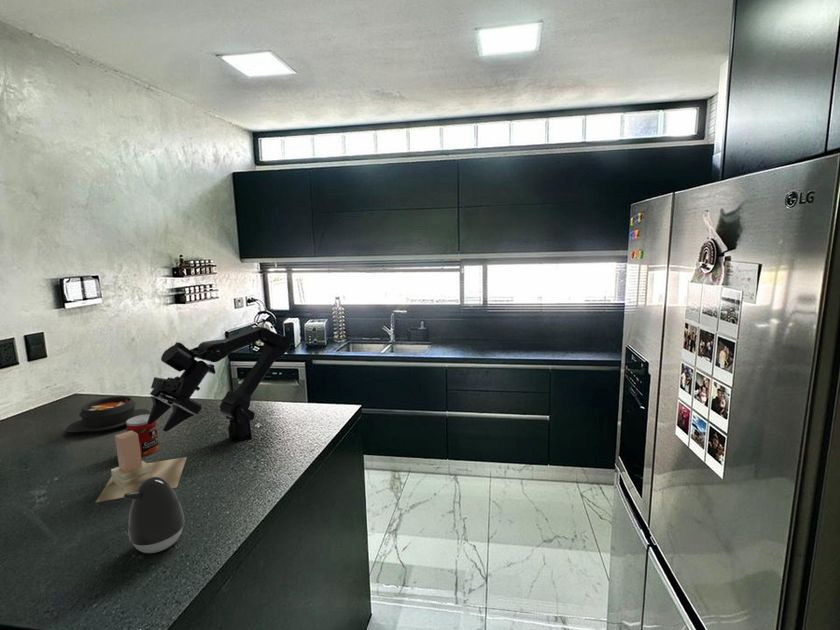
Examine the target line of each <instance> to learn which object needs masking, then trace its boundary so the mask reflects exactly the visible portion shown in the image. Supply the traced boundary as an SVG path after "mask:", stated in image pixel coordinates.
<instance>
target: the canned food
mask: <svg viewBox="0 0 840 630" xmlns="http://www.w3.org/2000/svg"><path fill="white" fill-rule="evenodd" d="M149 416H150V414H146V415H139V416H135V417H132V418H130V419H128V420H127V421H126V425H125V426H126V432H128V431H131V430H132V431H134V432H136V433H137V434H138V438H139V445H140V453H141V457H143V456H148V455H151V454H153V453H155V452H157V451H158V450H159V449H160V441H159V435H158V433H159V432H158V426H157V420H156V421H155V422H153V423H152V424H151V425H150V424H148V423H147V422H148V419H149Z"/></svg>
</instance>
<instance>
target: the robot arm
mask: <svg viewBox="0 0 840 630" xmlns="http://www.w3.org/2000/svg"><path fill="white" fill-rule="evenodd" d="M290 340H291V339H290V338H289V337H288V336H286V335H281V334H279V333H277V332H274V331H272V330H271V329H269V328H267V327H265V326H255V327H253V328H250V329H249V330H246V331H243V332H241V333H237V334H234V335H232V336H229V337H227V338H222V339H211V340H207V341H202V342H200V343H199V344H198V346H196V347H193V348H191V349H189V348H188V347H186V346H185V345H184V344H183V343H181V342H178V341H176V342H175V344H174V345H171V346H170V347H168V348H167V349H166V350H164V351H163V353H162V355H161V357H160V360H161V362H162V363H163V364H165V365H167V366H168V367H171V368H172V369H173V370H175V371H177V372H182V373H181V375H180V376H175V377H170V376H169V377H168V378H162V377H156V376H155V377H154V378H153V380H152V384H151V386H150V389H151V391H150V393H149V394H150V398H151V400H152V408H151V410H150V416H149V419H148V422H147V423H148V424H150V425H151V424H152V423H153V422H155V421H156V422H157V420H158V419H160V418H161V417H162V416H163V415H165V413H166V412H167V411H169V410H170V409H171V408H172V413H171V415H169V418H168V419H167V421H166V423H165V425H164V427H163V429H162V431H164V432H166V433H167V432H169V431H170V430H172V429H173V428H174V427H176V426H178V425H179V424H180V423H183V422H184V421H187V419H189V418H191V417H194V416H195V415H199V413H200V412H201V410H202V404H201V403H199V402H197V401H195V400H193V399H192V398H191V397H192V395H193V394H194V393H195V392H196V391H197V392H199V391H200V389H201V387H199V386H200V384H201V383H202V381H203V380H204V379H205V377H206V375H207V374H208V373H210V374H214V375H215V374H216V372H217V371H216V369H215V364H212V363H217V362H218V363H219V362H220V361H221V360H223V359H224V358H226V357H228V356H229V354H231V352H233V351H235V350H236V351H237V350H239V349H240V348H244V347H245V346H248V345H251V344H254V343H255V342H258V341H260V342H261V343H262V344H263V346H262V352H261V355H260V357H259V358H258V359H257V360H256V362H255V364H254V365H253V366H252V368H251V370H250V371H249V372H248V373H247V376H246V377H245V378H244V379H243V381H242V382H241V384H240V385H239V387H238V388H237V389H235V390H234V391H233V390H228V391H227V392H226V393H225V396H224V397H223V398H222V399H221V400H220V401H221V403H220V405H219V411H220V413H221V414H222V415H223V416H225V418H226V420H229V423H228V426H227V430H228V438H229V439H230V442H238V441H244V440H250V439H252V438H253V430H252V422H251V421H253V420H254V419H255V415H256V414H255V412H254V411H252V410H251V409H249V408H250V406H251V401H252V396H253V394H254V392H255V391H256V389H257V388H258V386H259V385H260V384H261V382H262V381H263V379H264V377H265V376H267V375H266V374H267V373H268V372H269V370H270V369H271V367H272V366H273V364H274V363H275V361H277V360H278V359H280V358H282V357H283V356H284V355H285V354H286V353H287V352H288V350H289V349H290V348H291V346H292V345H291V341H290ZM197 359H199V360H197ZM205 361H206V362H210V363H209V364H208V363H206V362H205Z"/></svg>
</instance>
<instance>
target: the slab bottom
mask: <svg viewBox="0 0 840 630" xmlns="http://www.w3.org/2000/svg"><path fill="white" fill-rule="evenodd" d="M111 477H112V480H113V482H114V483H115V484H117V485H118V486H120V487H121V488H123V489H127V488H129V487H132V486H134V485H136V484H139V483H141V482H143V481H145V480H146V479H148V478H151V477H152V472H150V473H147V474H145V475H142V476H140V477H137V478H135V479H132V480H130V481H127V482H125V483H122V482H121V481H119V480H118V479H116V478H115V477H113V476H112V475H111Z"/></svg>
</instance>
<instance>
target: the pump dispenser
mask: <svg viewBox="0 0 840 630" xmlns="http://www.w3.org/2000/svg"><path fill="white" fill-rule="evenodd" d="M123 498H124V500H132V503H131V506H130V510H129V516H128V528H127V529H128V531H127V532H128V539H129V542H130V543H132V545H133V546H134V547H135V549H137V551H139V552H141V553H143V554H144V553H145V554H155V553H158V552H162V551H164V550H166V549H168V548H170V547H172V545H174V544H175V543H176V542H177V541H178V539H180V536H181V534H182V532H183V527H184V526H185V514H184V511H183V507H182V505H181V502H180V500H179V498H178V495H177V494H176V492H175V490H174V488H172V487H171V486H170V485H169V484H168V483H167V482H166V481H165V480H164V479H162V478H160V477H151V478H148V479H146V480H145V481H143V482H142V483H141V484H140V485H139V487H138V489H137V491H136V492H132V493H126V494H125V495H124V497H123Z"/></svg>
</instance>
